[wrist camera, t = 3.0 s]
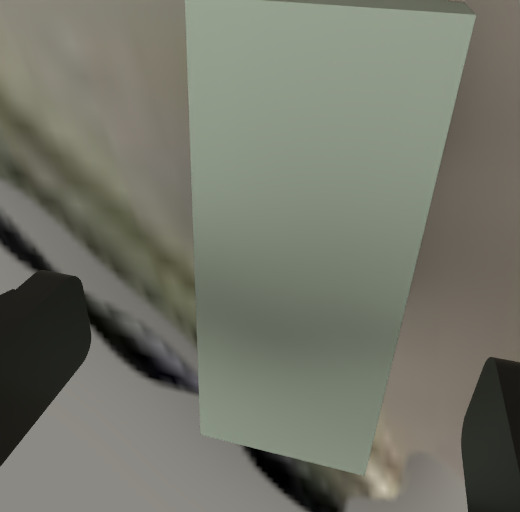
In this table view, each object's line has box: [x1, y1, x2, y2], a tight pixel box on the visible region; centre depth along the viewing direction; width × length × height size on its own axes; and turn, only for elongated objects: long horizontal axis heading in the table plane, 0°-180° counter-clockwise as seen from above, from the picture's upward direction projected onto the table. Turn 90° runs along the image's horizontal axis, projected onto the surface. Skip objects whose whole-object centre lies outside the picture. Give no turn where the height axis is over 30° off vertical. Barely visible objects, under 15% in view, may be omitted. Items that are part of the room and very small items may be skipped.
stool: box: [185, 0, 476, 476], centre depth 16 cm, size 5×12×10 cm, turn 177°
